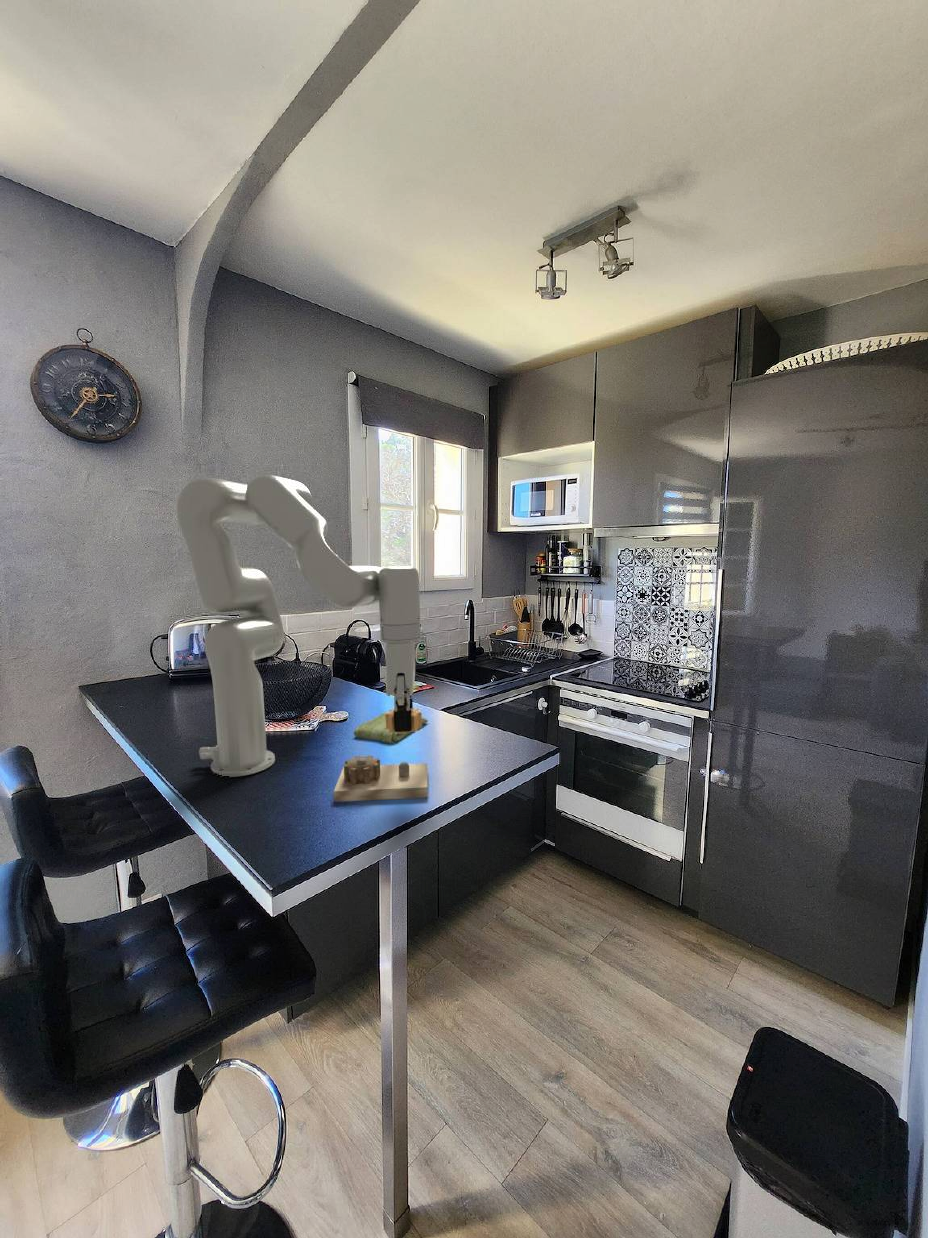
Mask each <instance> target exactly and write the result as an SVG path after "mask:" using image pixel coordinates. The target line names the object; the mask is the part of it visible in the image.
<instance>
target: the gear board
mask: <svg viewBox="0 0 928 1238" xmlns="http://www.w3.org/2000/svg"><path fill="white" fill-rule="evenodd" d="M428 771H429V770H428V763H427V762H425V763H419V762H418V763H408V762H406V761H402V762H400V763H399V764H398V763H397V764H381V759H380V758H379V757H378V758H375V757H374V756H373V755H367V756H361V755H357V756H354V757H353V758H351V759H347V760H345V761H344V764H343V767H342V769H341V773H340V775H339V777H338V780H337V782H336V785H335V786H334V789H333V802H335V803H338V802H339V803H341V802H358V801H359V802H361V801H381V800H384V801H385V800H402V799H403V800H406V799H407V800H408V799H422V798H423V799H425V797H428V786H429V785H428V783H429V780H428V775H429V774H428V773H429V772H428ZM428 798H429V797H428Z"/></svg>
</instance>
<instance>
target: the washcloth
mask: <svg viewBox="0 0 928 1238" xmlns="http://www.w3.org/2000/svg"><path fill="white" fill-rule="evenodd" d="M388 712H390V710H389V711H388ZM385 714H386V712H383V713H381V714H379V715H377V716H375V717H373V718H372V719H371V720H367V721H364V722H363V723H362V724H359V725H358V726H356V728H354V730H353V736H354V737H356V738H358V739H359V738H361V739H366V740H375V741H379V742H383V743H387V744H395V743H397V742H399V741H400V740H403V739H405V737H408V736H409V735H410V734H412V733H413V731H411V732H406V734H401V733H398V732H394V733H391V732H389V729H386V716H385ZM428 721H429V720H428V719H427V718H425V717H423V716H422V726H424V725H425V724H426V723H428Z"/></svg>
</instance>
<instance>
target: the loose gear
mask: <svg viewBox="0 0 928 1238" xmlns="http://www.w3.org/2000/svg"><path fill="white" fill-rule="evenodd" d="M410 709H411V718H412V730H411V731H413V732H414V733H415V732H418V731H419V729H420V728H423V725H422V717H423V716H422V710H419V708H417V707H413V708H410ZM389 711H390V712H389ZM389 711H388V712H387V711H386V712H385V713H386V714H385V716H386V729H389V732H391V733H394V732H395V731H394V708H392V709H389ZM411 731H409V732H411ZM413 732H411V733H413ZM398 733H401V734H406V732H398Z"/></svg>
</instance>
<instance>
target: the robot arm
mask: <svg viewBox="0 0 928 1238" xmlns="http://www.w3.org/2000/svg"><path fill="white" fill-rule="evenodd" d="M176 517H177V522H178V525H179V529H180V531H181V534H182V536H183V538H184V541H185V544H186V546H187V549H188V553H189V556H190V559H191V560H190V561H191V564H192V569H193V572H194V577H195V581H196V584H197V585H196V586H197V589H198V591H199V596H200V599H201V601H202V604H203V606H204V608H205V609H206V610H207V611H208V612H210V613H213V614H218V615H225V614H233V613H240V615H241V617H239V618H238V617H237V618H232V619H227V620H223V621H221V622H218V623H216V624H215V625H213V626H212V627H210V629H209V630H208V631H207V633H206V635H205V637H204V651H205V654H206V655H205V656H206V658H207V661H208V665H209V669H210V675H211V679H212V687H213V688H212V689H213V700H214V714H215V728H216V740H217V741H216V743H217V744H216V745H215V746H211V747H210V746H201V747H200V748H199V750H198V756H200V757H199V758H200V760H212V762H211V765H210V771H211V770H212V771H213V772H214V773H217V774H219V775H222V776H221V777H223V776H229V777H228V778H235V777H244V776H249V775H254V774H256V773H259V772H261V771H262V772H263V771H265V770H266V769H268V768H270V767H272V765H274V763H275V761H276V755H275V753H273V751H271V750H268V749H267V735H266V732H267V731H266V720H265V719H266V717H265V716H266V715H265V701H264V688H263V687H264V685H263V679H262V677H261V674H260V672H259V670H258V668H257V667H256V664H255V661H257V660H261V659H264V658H267V657H270V656H272V655H274V654H276V653H277V652H278V651H280V649H281V648H282V647H283V644H284V638H285V634H284V633H285V632H284V627H283V621H282V619H281V618H282V617H281V613H280V610H279V609H280V608H279V605H278V601H277V597H276V593H275V589H274V586H273V584H272V581H271V580H270V579H269V577H268V576H267V575H266V573H264V572H263V571H262V570H260V569H257V568H254V567H241V566H240V563H239V560H238V557H237V551H236V548H235V546H234V543H233V541H232V539H231V538H230V536H229V535H228V533H227V531H226V530H225V529H223V527H222V523H229V524H240V525H255V526H256V525H267V527H269V528H270V529H271V530H272V531H273V532H274V533H275V534H276V535H277V536H278V537H279V538H280V539H281V540H282V541H283V542H284V543H285V544H286V545H287V546H288V547H289V548H290V549H291V550H292V551H293V553H294V558H295V561H296V563H297V566H298V568H299V571H300V573H301V574H302V576H303V577H304V578H305V580H306V581H307V582H308V583H309V584H310V585H311V586H312V587H313V588H314V589H315V590H316V591H317V592H318V593H319V594H320V595H321V597H323V598H324V599H326V601H328V602H329V603H331V604H332V605H334V606H336V607H338V608H341V609H353V608H357V607H361V606H362V607H364V606H368V605H374V604H378V606H379V609H378V610H379V634H380V642H382V643H386V644H385V677H386V679H385V682H386V691H385V693H386V696H388V697H391V695H393V696H394V697H393V698H394V699H393V703H394V705H393V706H394V707H393V709H394V731H395V732H409V731H411V730H412V718H411V709H410V708H414V707H413V706H414V705H413V698H412V694H413V693H414V688H415V677H416V649H415V648H416V647H415V645H416V644H415V643H416V642H419V641H421V640H422V635H421V634H422V632H421V631H422V629H421V602H420V600H421V599H420V574H419V572H418V569H417V568H416V567H414V566H407V565H401V566H399V565H398V566H397V565H396V566H394V565H393V566H385V567H380V566H375V565H374V566H373V565H348V564H347V563H346V562H345V561H344V560H343V559H341V558H340V556H339V555H337V554H336V553H335V552H334V551H333V550H332V549H331V547H330V546H329V545H328V543H327V542H326V541H325V539H326V537H327V535H328V531H329V524H328V522H327V520H326V519H325V518H324V517H323V516H321V514H320V513H318V512H317V511H316V510H315V509H314V500H313V496H312V494H311V492H310V490H309V489H308V488H307V486H305V484H303V483H301V482H299V481H298V480H293V479H290V478H285V477H281V476H277V475H272V474H264V475H258V476H257V477H254V478H253V479H251V481H250V482H249V483H248V484H247V483H242V482H236V481H231V480H227V479H222V478H217V477H215V478H214V477H200V478H197V479H194V480H191V481H190V482H188V483H187V484H186V485H185V486H184V487H183V488H182V489H181V492H180V494H179V497H178V499H177V503H176ZM212 771H211V772H212ZM214 773H213V774H214Z"/></svg>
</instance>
